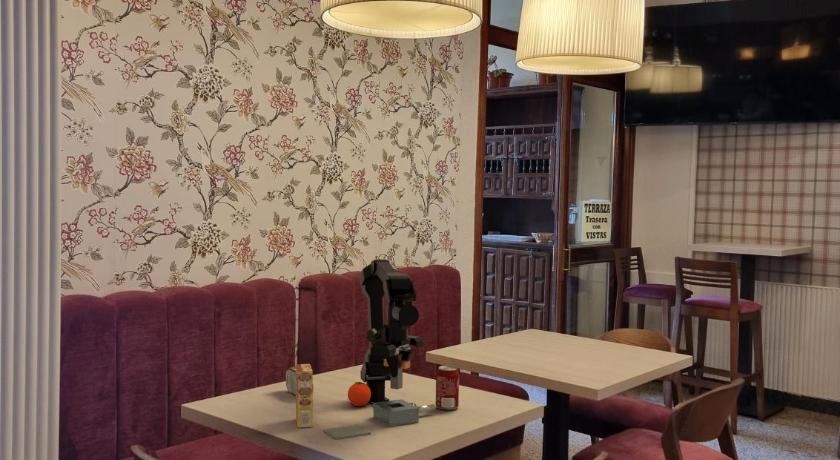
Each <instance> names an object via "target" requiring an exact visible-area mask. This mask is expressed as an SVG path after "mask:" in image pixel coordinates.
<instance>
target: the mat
mask: <svg viewBox="0 0 840 460" xmlns="http://www.w3.org/2000/svg"><path fill="white" fill-rule="evenodd" d="M323 432H324V433H326V434H327V435H328V436H330V437H331V438H333V439H334V440H341V439H347V438H353V437H361V436H367V435H372V432H371V431H370V430H368V429H366V428H365V427H364V426H361V425H360V424H358V423H357V424H349V425H344V426H337V427H336V426H335V427H329V428H323Z"/></svg>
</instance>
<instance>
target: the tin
mask: <svg viewBox="0 0 840 460" xmlns="http://www.w3.org/2000/svg"><path fill="white" fill-rule="evenodd" d="M284 375H285V386H286V389H287V391H288V392H289V393H290V394H291V395H293V396H295V397H296V365H295V366H291V367H288V368H287V369H285V373H284Z"/></svg>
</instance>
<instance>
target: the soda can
mask: <svg viewBox="0 0 840 460" xmlns="http://www.w3.org/2000/svg"><path fill="white" fill-rule="evenodd" d="M459 394H460V373H459V371H458V367H456V366H453V365H440V366H438V370H437V371H436V374H435V408H438V410H442V411H453V410H456V409H458V408H459V403H460V401H459V398H460V397H459V396H460V395H459Z"/></svg>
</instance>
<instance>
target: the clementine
mask: <svg viewBox="0 0 840 460" xmlns="http://www.w3.org/2000/svg"><path fill="white" fill-rule="evenodd" d="M370 398H371V390H370V388H369V387H368V385H366V382H363V381H355V382H354V383H353V384H351V385H350V387H349V388H348V391H347V399H348V401H349V402H350V404H352V405H353V406H356V407H362V406H366V405H367V404H368V403H369V400H370Z"/></svg>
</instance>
